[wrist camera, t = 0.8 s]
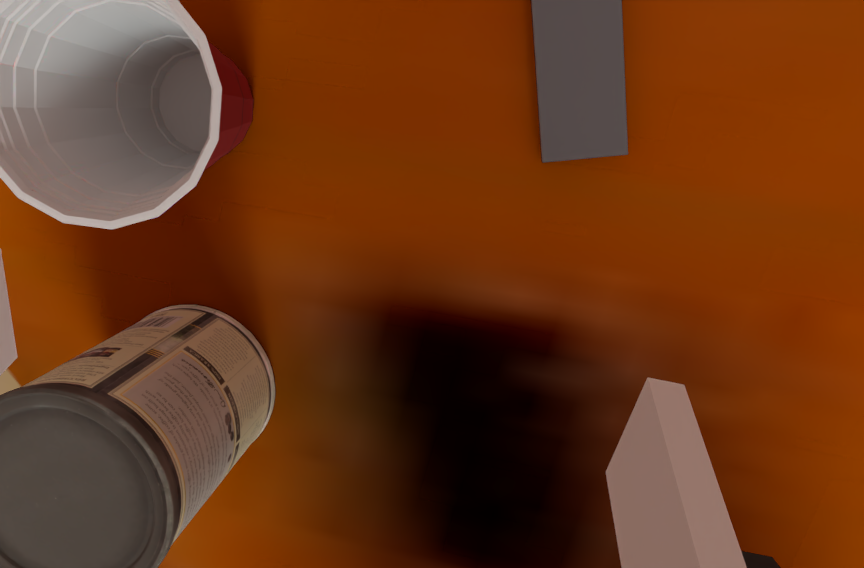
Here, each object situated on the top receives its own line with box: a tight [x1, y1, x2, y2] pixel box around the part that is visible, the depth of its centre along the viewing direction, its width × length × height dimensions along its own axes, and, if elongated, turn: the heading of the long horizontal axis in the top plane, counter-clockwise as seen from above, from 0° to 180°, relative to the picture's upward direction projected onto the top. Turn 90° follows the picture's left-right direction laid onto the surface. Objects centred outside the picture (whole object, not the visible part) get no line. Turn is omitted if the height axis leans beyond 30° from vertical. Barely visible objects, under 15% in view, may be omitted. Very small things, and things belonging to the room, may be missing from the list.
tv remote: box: [531, 0, 628, 163], centre depth 37 cm, size 15×4×2 cm, turn 6°
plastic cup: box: [0, 0, 254, 230], centre depth 35 cm, size 11×11×12 cm
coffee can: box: [0, 304, 275, 568], centre depth 38 cm, size 10×10×14 cm
